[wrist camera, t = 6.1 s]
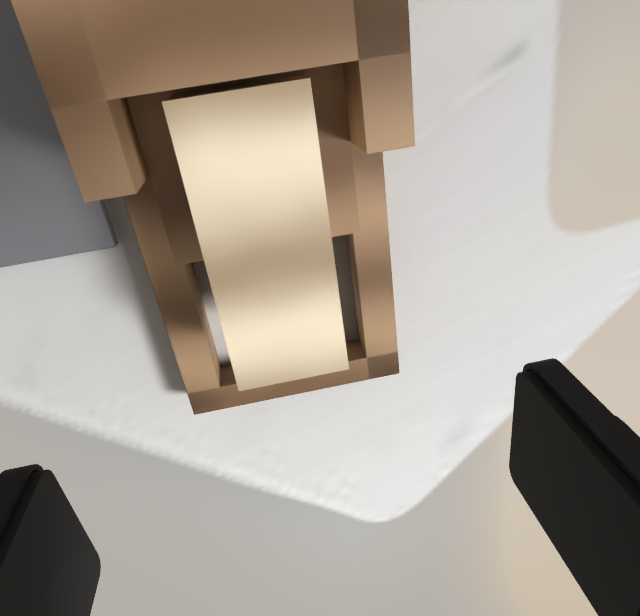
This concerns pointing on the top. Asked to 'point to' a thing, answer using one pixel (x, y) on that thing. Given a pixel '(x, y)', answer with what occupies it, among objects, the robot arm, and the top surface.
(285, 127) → the slab
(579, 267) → the top surface
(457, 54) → the top surface
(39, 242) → the mat
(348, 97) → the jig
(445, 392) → the top surface
